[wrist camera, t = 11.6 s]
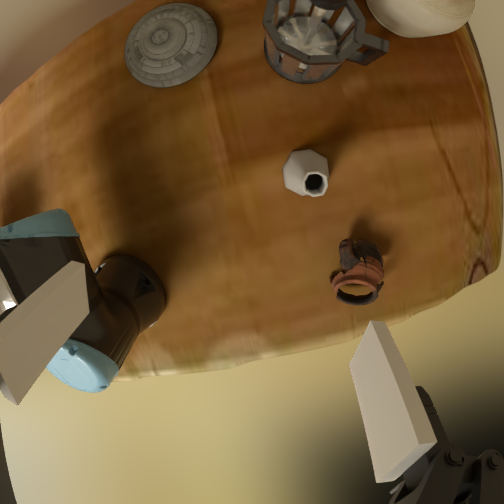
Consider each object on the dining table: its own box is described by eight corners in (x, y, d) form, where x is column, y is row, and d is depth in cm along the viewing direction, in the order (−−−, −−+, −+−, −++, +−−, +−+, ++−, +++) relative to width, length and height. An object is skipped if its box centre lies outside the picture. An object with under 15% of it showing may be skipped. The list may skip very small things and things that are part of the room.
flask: (324, 199, 45) (338, 218, 36) (278, 191, 45) (280, 207, 36) (333, 153, 42) (350, 160, 33) (286, 144, 42) (290, 148, 33)
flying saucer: (232, 65, 38) (227, 57, 33) (143, 104, 41) (128, 102, 36) (201, -8, 33) (193, -21, 28) (118, 32, 35) (103, 24, 30)
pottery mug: (391, 263, 49) (391, 303, 44) (345, 274, 55) (340, 312, 50) (366, 216, 43) (365, 258, 38) (313, 232, 49) (305, 272, 44)
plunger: (270, 63, 35) (269, 3, 15) (280, 13, 31) (287, -69, 12) (330, 76, 35) (383, 32, 16) (339, 26, 32) (389, -42, 12)
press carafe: (257, 75, 38) (252, 53, 26) (271, 10, 34) (271, -29, 21) (355, 98, 38) (387, 87, 26) (366, 33, 34) (397, 5, 22)
